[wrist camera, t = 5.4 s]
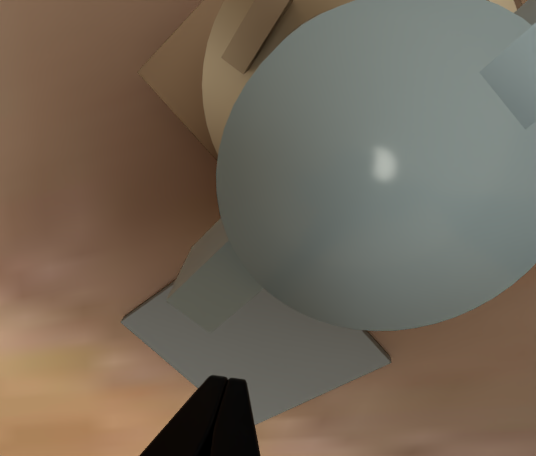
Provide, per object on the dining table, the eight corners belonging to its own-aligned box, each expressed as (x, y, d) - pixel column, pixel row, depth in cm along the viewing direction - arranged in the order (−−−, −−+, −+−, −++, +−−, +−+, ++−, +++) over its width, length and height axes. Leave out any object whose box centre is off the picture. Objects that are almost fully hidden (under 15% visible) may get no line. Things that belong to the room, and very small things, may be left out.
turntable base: (570, 112, 14) (583, 117, 14) (320, 265, 19) (320, 275, 18) (398, -203, 11) (403, -218, 10) (145, 69, 15) (137, 72, 15)
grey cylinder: (275, 284, 16) (258, 445, 10) (156, 186, 15) (50, 306, 9) (505, 91, 12) (706, 163, 6) (377, -69, 11) (478, -188, 5)
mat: (390, 356, 21) (391, 362, 20) (246, 423, 25) (245, 429, 24) (263, 216, 18) (261, 221, 17) (123, 317, 22) (120, 322, 21)
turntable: (365, 267, 17) (370, 296, 15) (161, 125, 15) (140, 140, 14) (583, 58, 13) (624, 66, 11) (329, -177, 11) (329, -213, 9)
